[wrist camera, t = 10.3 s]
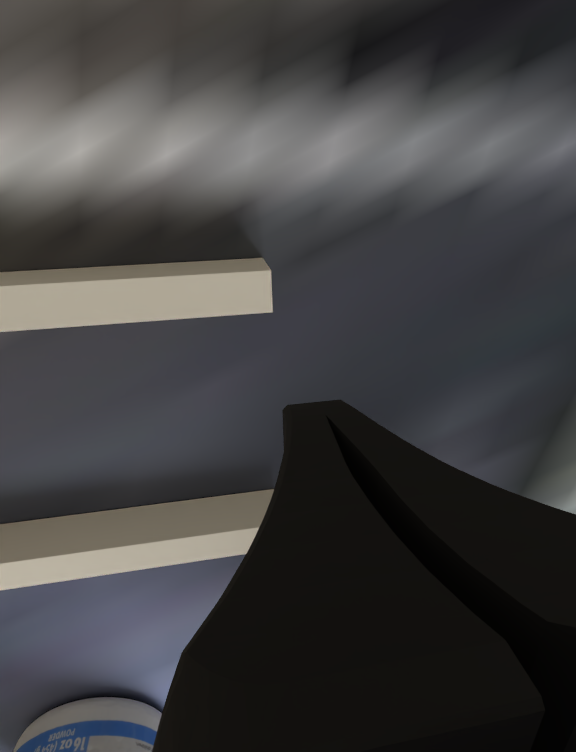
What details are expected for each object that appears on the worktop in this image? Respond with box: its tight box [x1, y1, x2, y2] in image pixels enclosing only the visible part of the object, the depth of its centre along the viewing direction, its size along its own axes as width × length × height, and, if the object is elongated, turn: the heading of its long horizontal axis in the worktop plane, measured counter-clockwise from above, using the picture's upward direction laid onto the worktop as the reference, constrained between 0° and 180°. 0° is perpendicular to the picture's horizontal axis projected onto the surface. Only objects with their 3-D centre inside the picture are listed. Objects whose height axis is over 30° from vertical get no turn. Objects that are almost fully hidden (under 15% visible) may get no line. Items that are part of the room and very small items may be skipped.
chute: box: [0, 258, 274, 590], centre depth 18 cm, size 16×13×2 cm
